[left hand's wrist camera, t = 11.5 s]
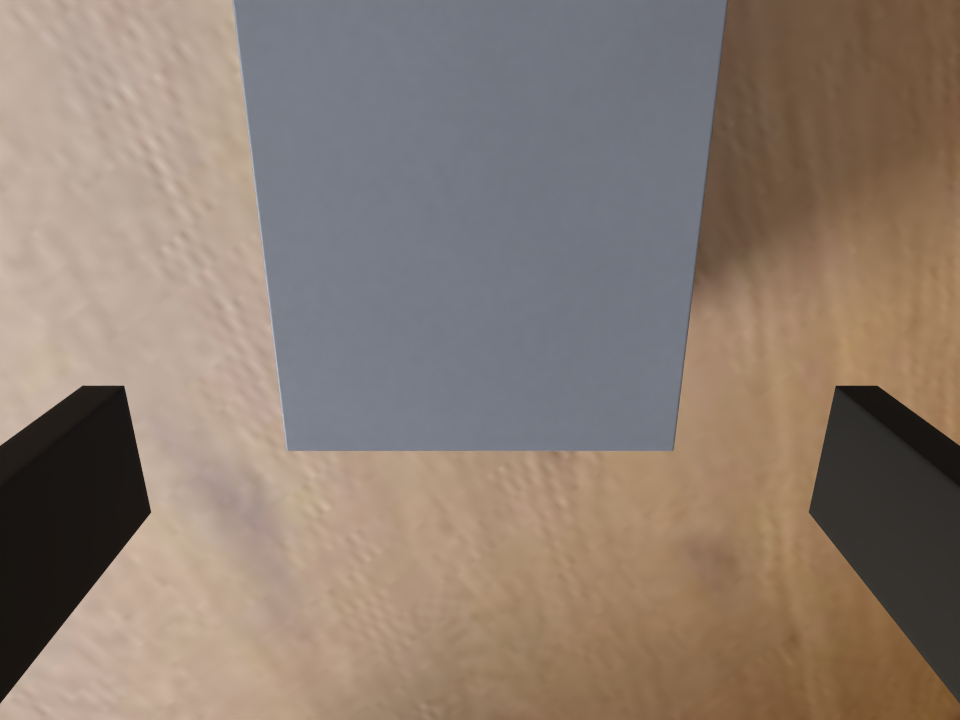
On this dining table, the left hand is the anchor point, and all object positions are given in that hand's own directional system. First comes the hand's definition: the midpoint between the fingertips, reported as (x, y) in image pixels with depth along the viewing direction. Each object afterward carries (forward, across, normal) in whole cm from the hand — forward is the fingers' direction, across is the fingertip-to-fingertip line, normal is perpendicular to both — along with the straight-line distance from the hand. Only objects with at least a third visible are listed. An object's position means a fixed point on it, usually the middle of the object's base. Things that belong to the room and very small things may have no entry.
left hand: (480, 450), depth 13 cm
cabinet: (+17, 0, -8) cm, 18 cm away
